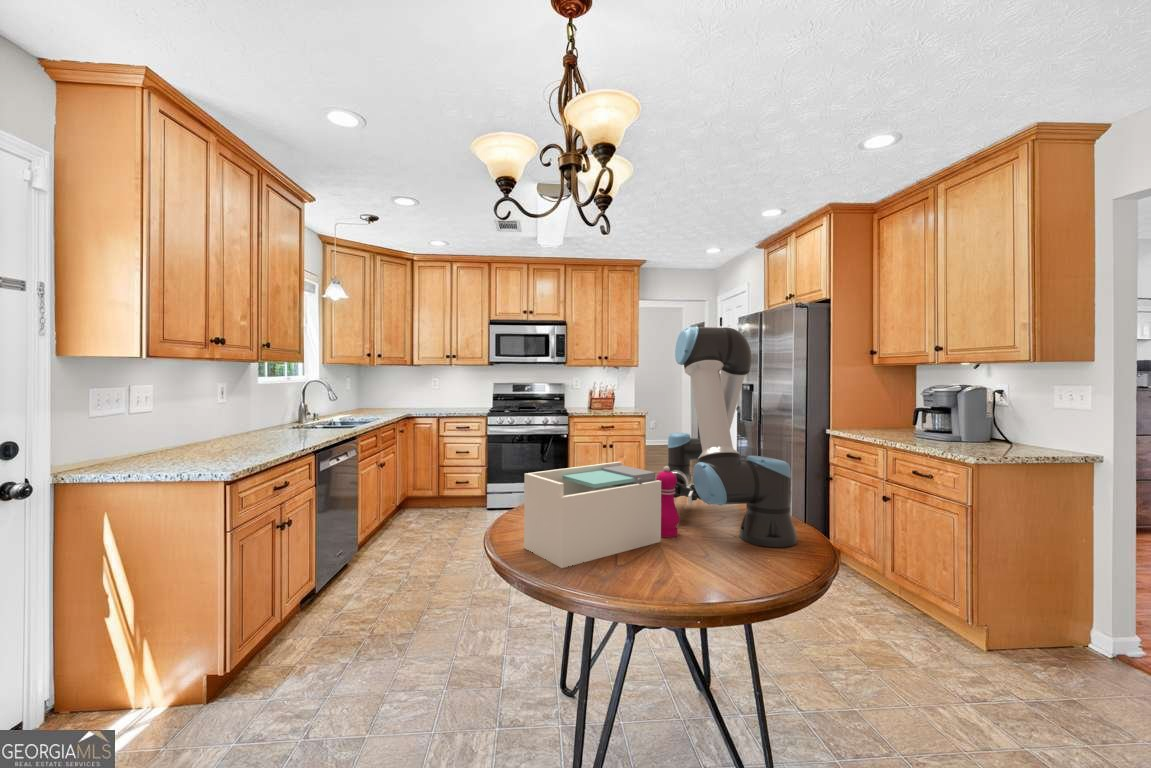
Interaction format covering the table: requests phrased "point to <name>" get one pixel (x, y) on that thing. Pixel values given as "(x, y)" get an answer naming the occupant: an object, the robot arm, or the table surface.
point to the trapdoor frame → (587, 516)
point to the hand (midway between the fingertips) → (665, 498)
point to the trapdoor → (611, 477)
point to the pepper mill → (668, 503)
